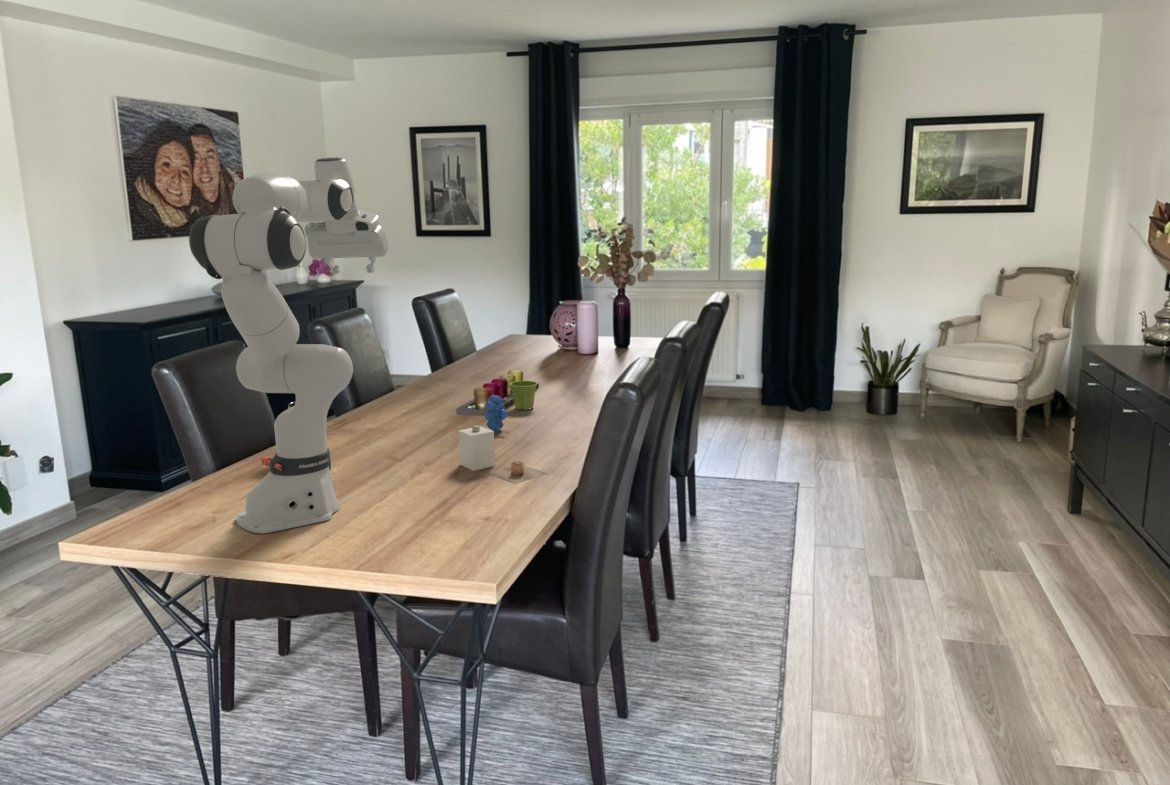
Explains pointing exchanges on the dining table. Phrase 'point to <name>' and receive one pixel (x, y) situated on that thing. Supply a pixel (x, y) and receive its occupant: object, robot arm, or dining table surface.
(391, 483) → the dining table surface
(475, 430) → the cover
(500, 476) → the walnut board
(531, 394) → the plant pot
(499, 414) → the blue bumpy lump
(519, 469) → the brown short cylinder
